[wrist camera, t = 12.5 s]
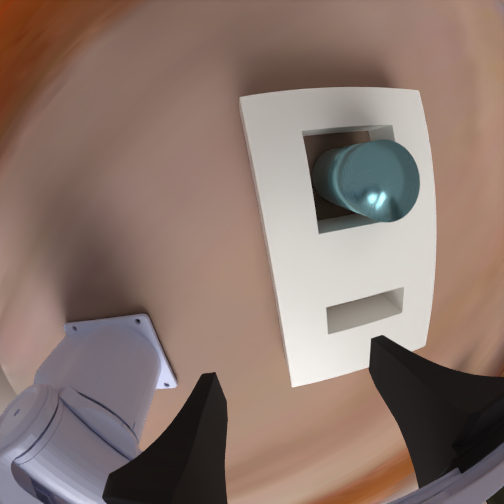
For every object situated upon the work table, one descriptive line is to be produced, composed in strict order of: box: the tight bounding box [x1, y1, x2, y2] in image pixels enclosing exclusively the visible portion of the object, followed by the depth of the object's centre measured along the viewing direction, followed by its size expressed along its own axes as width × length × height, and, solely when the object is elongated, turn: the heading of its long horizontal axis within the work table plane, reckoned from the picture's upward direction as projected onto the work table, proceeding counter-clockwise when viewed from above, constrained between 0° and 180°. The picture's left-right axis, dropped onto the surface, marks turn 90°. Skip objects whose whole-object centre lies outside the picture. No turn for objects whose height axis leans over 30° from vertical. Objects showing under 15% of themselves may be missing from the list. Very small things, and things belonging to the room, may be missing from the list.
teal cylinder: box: [312, 140, 420, 222], centre depth 15 cm, size 4×4×7 cm
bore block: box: [239, 87, 436, 387], centre depth 18 cm, size 12×20×4 cm, turn 11°
